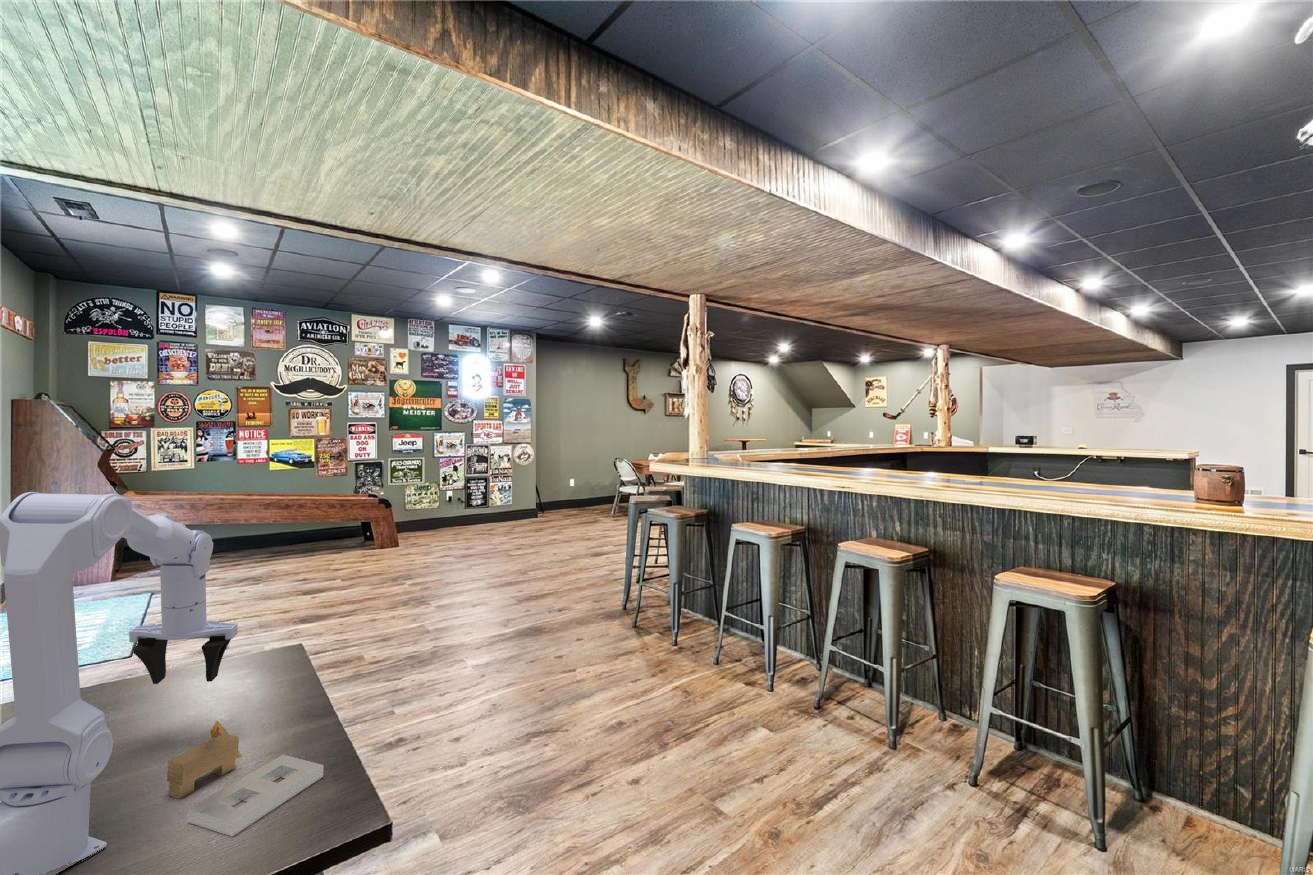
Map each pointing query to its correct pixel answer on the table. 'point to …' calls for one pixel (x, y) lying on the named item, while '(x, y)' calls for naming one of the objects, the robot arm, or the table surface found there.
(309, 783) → the white slotted holder
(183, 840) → the table surface
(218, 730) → the chocolate bar
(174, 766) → the stepped wooden block
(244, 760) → the table surface
